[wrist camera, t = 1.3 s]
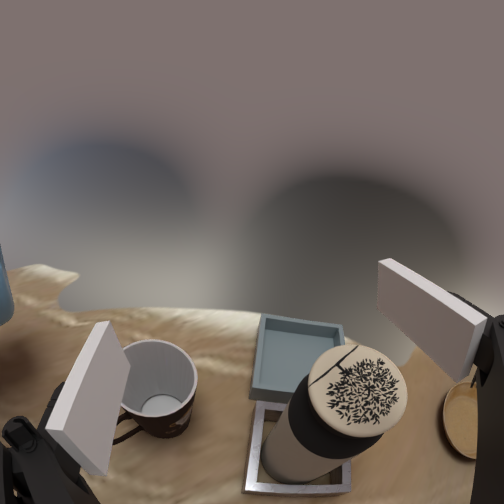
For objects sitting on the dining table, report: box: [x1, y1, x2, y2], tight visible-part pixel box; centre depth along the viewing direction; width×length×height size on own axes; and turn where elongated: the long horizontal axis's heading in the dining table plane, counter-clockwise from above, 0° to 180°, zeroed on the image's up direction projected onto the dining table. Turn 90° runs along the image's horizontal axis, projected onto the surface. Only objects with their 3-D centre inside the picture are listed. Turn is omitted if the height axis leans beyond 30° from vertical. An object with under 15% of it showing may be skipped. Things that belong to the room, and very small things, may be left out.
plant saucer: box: [443, 381, 478, 459], centre depth 27 cm, size 15×15×3 cm
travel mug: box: [261, 344, 407, 485], centre depth 21 cm, size 8×8×18 cm
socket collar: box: [241, 400, 351, 497], centre depth 25 cm, size 11×11×4 cm
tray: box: [249, 313, 345, 404], centre depth 37 cm, size 12×12×3 cm
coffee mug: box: [112, 339, 198, 445], centre depth 25 cm, size 12×9×10 cm
